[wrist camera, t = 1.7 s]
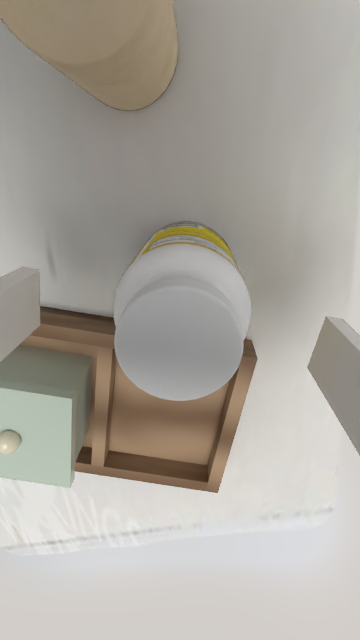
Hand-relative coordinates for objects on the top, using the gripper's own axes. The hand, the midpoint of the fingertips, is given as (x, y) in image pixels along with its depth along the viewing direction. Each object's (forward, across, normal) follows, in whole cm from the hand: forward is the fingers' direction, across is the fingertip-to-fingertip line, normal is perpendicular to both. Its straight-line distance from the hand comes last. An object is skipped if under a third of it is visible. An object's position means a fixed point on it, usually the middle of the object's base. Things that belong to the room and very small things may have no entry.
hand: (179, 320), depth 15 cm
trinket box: (+7, -9, -10) cm, 16 cm away
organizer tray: (+8, -4, -10) cm, 14 cm away
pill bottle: (+8, 0, +1) cm, 8 cm away
